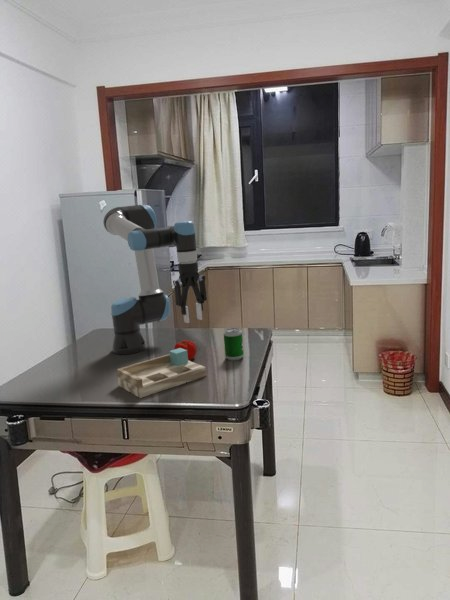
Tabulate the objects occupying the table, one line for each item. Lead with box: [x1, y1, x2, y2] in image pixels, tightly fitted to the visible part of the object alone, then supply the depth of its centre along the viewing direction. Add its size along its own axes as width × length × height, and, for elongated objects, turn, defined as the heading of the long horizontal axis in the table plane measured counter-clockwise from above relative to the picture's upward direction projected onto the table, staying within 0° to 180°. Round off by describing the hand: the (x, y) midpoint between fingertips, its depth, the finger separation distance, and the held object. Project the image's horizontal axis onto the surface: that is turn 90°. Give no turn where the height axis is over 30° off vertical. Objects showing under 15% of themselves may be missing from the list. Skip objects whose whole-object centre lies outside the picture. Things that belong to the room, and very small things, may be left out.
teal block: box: [169, 348, 188, 366], centre depth 197 cm, size 5×5×5 cm
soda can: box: [223, 327, 244, 361], centre depth 208 cm, size 8×8×12 cm
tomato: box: [173, 339, 197, 361], centre depth 212 cm, size 9×9×8 cm
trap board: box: [116, 353, 207, 399], centre depth 189 cm, size 17×28×6 cm, turn 127°
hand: (193, 320), depth 199 cm, fingers open, 5 cm apart
